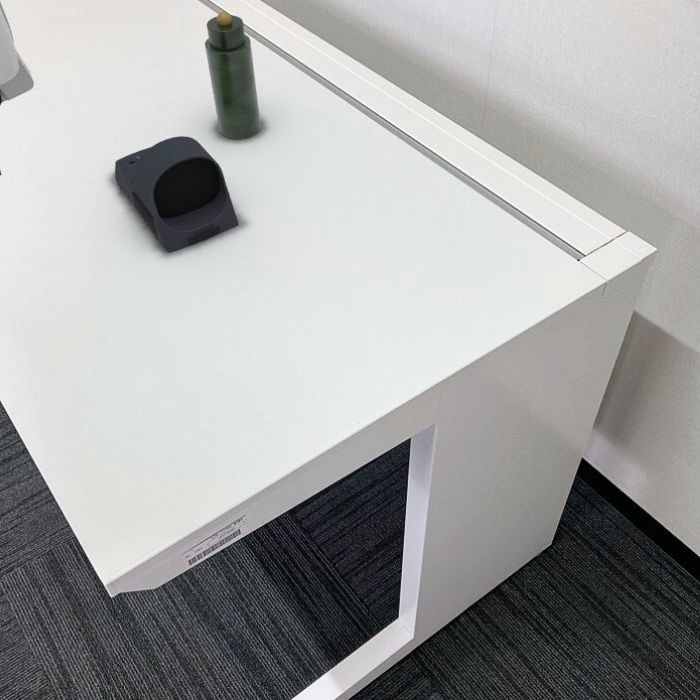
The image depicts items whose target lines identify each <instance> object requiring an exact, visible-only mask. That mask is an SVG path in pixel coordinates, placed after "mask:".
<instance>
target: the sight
mask: <svg viewBox="0 0 700 700" xmlns="http://www.w3.org/2000/svg"><path fill="white" fill-rule="evenodd" d="M114 178H115V181H116V183H117V185H118V186H119V188H120V189H121V190H122V191H123V193H124V194H125V196H126V197H127V198H128V200H129V201H130V202H131V204H132V205H133V206H134V208H135V209H136V210H137V211H138V213H139V214H140V215H141V217H142V218H143V220H144V221H145V222H146V224H147V225H148V226H149V228H150V229H151V231H152V232H153V233H154V234H155V236H156V238H157V239H158V240H159V241H160V243H161V244H162V245H163V247H164V248H165V249H166V250H167V252H168V253H173V252H175V251H178V250H181V249H184V248H187V247H190V246H192V245H195V244H198V243H200V242H203V241H206V240H208V239H211V238H213V237H215V236H217V235H220V234H222V233H224V232H226V231H229V230H230V229H232V228H235V227H237V226H239V221H238V217H237V215H236V210H235V208H234V204H233V201H232V198H231V195H230V192H229V189H228V186H227V182H226V178H225V176H224V172H223V170H222V167H221V165H220V164H219V162H217V161H216V160H215V158H213V157H212V155H211V154H210V153H209V152H208V151H207V150H206V148H205V147H203V146H202V144H201V143H200V142H199V141H198V140H197V139H195V138H193V137H190V136H185V135H183V136H182V135H179V136H174V137H169V138H166V139H164V140H163V139H162V140H161V141H159V142H157V143H155V144H153V145H152V146H149V147H147V148H144V149H140V150H138V151H135V152H132V153H130V154H127V155H125V156H123V157H120V158H118V159H117V160H116V161H115V163H114Z"/></svg>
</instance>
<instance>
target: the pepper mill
mask: <svg viewBox="0 0 700 700" xmlns="http://www.w3.org/2000/svg"><path fill="white" fill-rule="evenodd" d="M206 30H207V36H208V38H207V39H206V40H205V42H204V48H205V54H206V59H207V65H208V71H209V77H210V78H209V79H210V83H211V89H212V95H213V100H214V106H215V113H216V119H217V125H218V130H219V133H220V134H221V135H222V136H223V137H225V138H227V139H230V140H244V139H249V138H251V137H254V136H255V135H257V134H258V133H259V132H260V131H261V127H262V123H261V116H260V107H259V99H258V92H257V83H256V75H255V66H254V59H253V52H252V51H253V50H252V43H251V39H250V37H249V36H248V35H247V34H246V33H245V26H244V21H243V19H242V17H239V16H237V15H232V14H230V13H229V12H227V11H219V13H218V14H217V15H216V16H214V17H212V18H210V19H209V20H208V21H207V23H206Z"/></svg>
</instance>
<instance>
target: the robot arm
mask: <svg viewBox="0 0 700 700" xmlns="http://www.w3.org/2000/svg"><path fill="white" fill-rule="evenodd" d="M34 85H35V83H34V79H33V75H32V73H31V70H30V68H28V66H27V65H26V63H25V61H24V60H23V58H22V57H21V55H20V54H19V52H18V51H17V49H16V46H15V41H14V36H13V32H12V29H11V26H10V23H9V21H8V18H7V15H6V11H5V10H4V7H3V5H2V2H1V1H0V106H2V103H4V102H6V101H7V102H8V101H10V100H13V99H15V98H16V97H19V96H21V95H22V94H25V93H27V92H29V91H31V90H32V89H33V88H34ZM0 176H2V171H1V169H0Z"/></svg>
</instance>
